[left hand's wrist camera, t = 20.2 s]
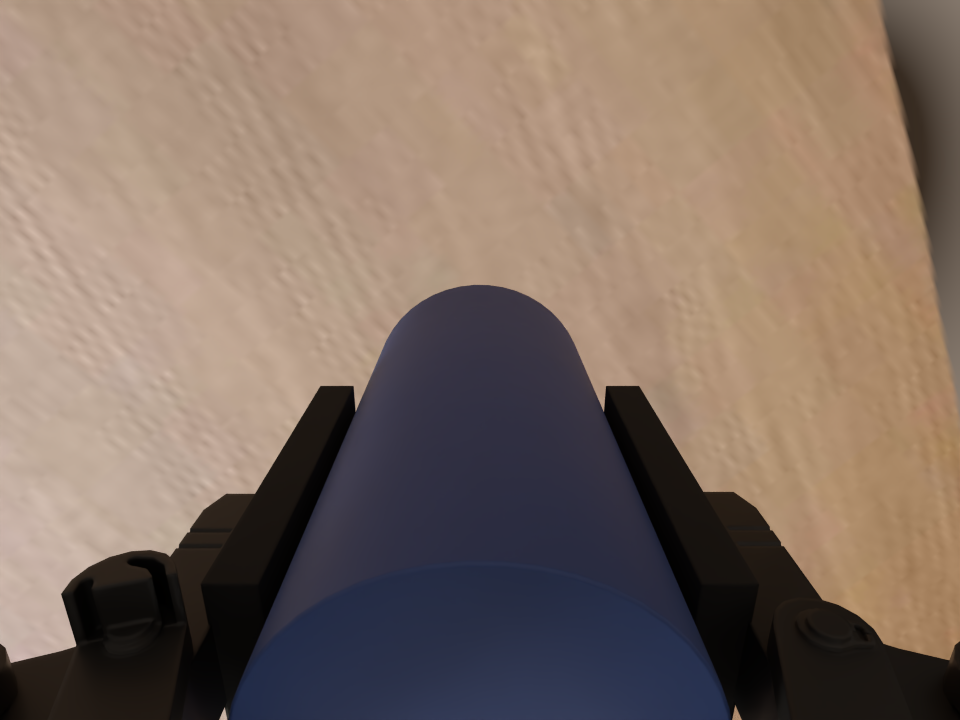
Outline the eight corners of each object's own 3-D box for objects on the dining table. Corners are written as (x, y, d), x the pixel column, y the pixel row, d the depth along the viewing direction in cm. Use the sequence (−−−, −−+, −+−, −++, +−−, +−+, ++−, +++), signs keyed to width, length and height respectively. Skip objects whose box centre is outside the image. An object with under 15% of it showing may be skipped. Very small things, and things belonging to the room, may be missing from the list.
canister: (595, 293, 17) (794, 583, 6) (567, 478, 19) (679, 933, 8) (380, 275, 16) (205, 543, 6) (375, 464, 19) (239, 912, 8)
